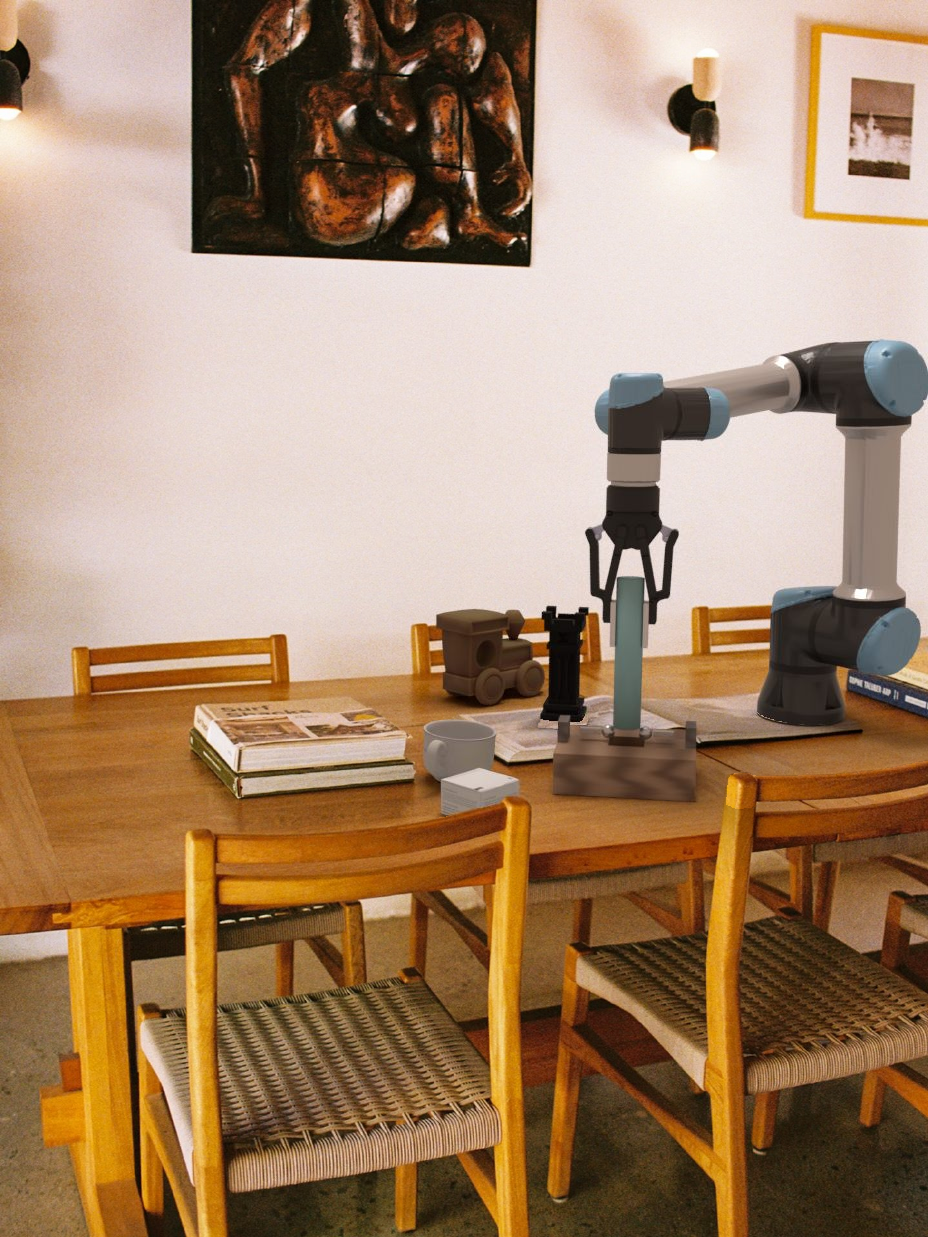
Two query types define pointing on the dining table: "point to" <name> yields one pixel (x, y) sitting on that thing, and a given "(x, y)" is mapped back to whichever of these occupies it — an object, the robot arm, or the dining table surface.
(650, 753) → the walnut socket block
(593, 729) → the plunger
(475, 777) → the small box
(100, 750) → the dining table surface
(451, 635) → the wooden toy train
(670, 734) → the plunger
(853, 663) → the robot arm
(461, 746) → the teacup
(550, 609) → the chess piece
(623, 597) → the teal peg
